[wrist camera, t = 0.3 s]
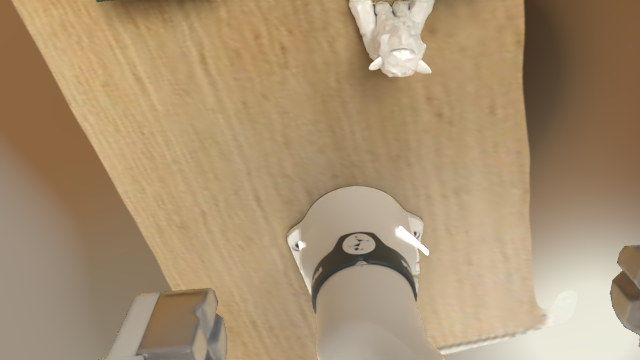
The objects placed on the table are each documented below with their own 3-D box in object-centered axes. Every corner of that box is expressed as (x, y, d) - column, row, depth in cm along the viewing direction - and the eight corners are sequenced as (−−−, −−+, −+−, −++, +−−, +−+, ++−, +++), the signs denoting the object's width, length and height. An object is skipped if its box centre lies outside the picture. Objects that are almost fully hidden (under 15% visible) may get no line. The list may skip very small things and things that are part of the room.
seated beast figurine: (436, -19, 50) (470, -2, 40) (430, 61, 54) (458, 96, 44) (347, -16, 50) (357, 2, 40) (348, 65, 54) (357, 100, 44)
